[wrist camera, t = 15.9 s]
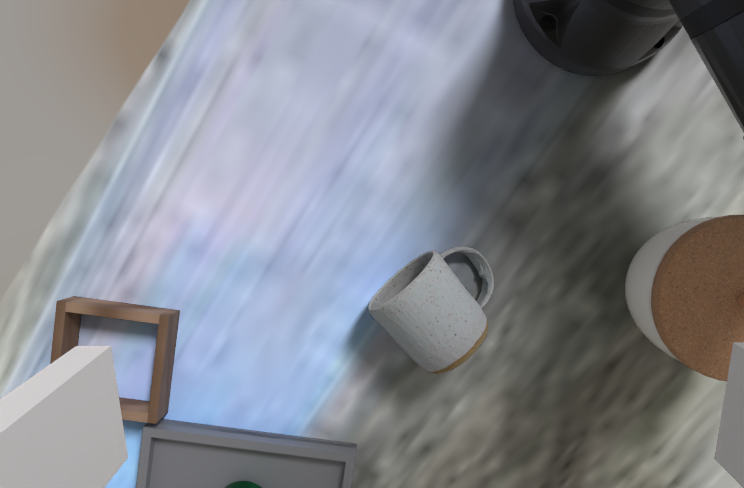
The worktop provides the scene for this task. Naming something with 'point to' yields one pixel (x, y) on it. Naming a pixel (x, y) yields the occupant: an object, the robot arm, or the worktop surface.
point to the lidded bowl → (692, 292)
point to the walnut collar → (166, 318)
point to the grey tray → (239, 458)
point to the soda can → (243, 485)
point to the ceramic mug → (434, 310)
